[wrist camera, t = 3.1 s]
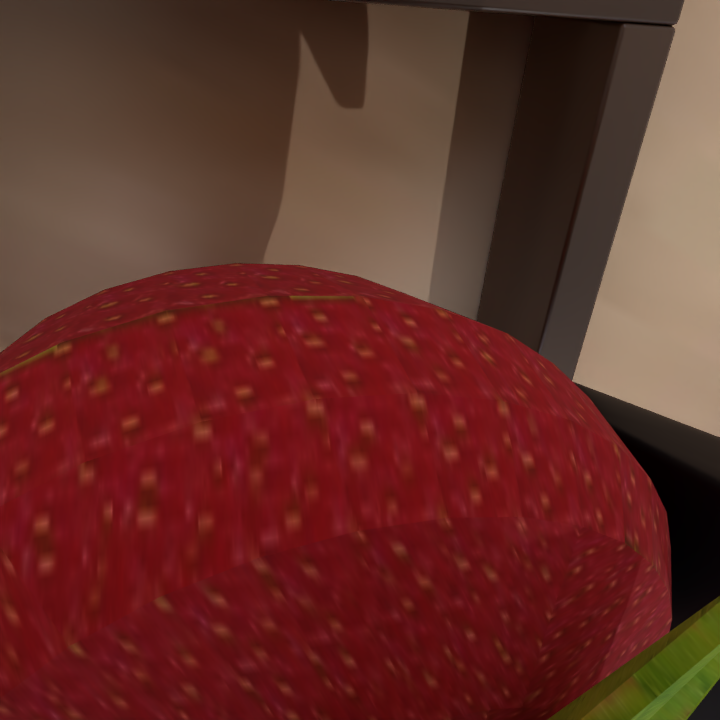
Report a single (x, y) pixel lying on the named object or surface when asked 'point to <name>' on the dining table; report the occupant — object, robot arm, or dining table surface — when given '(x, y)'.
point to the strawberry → (322, 517)
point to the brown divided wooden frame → (568, 160)
